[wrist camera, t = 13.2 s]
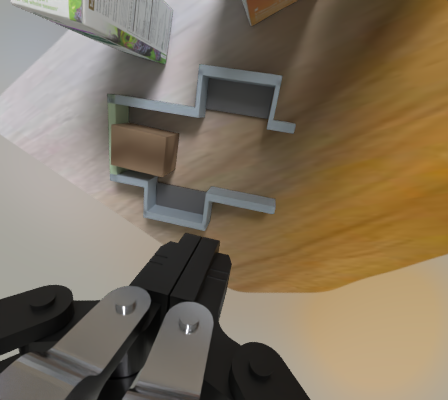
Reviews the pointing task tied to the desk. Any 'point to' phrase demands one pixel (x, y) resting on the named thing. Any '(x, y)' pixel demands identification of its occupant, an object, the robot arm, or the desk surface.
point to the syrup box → (112, 22)
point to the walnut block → (143, 148)
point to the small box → (263, 8)
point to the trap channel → (216, 100)
